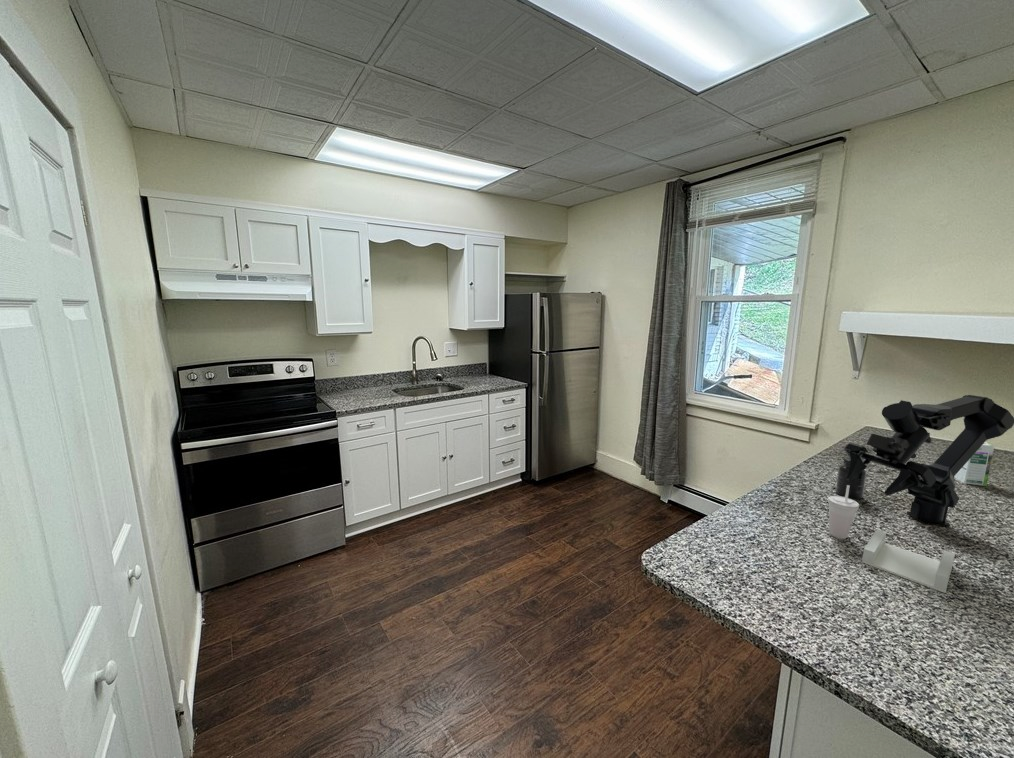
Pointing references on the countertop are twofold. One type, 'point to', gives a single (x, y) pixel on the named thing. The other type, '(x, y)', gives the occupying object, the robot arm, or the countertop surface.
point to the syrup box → (977, 466)
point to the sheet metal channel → (908, 563)
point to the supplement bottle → (855, 484)
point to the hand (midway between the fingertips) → (866, 486)
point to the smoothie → (841, 514)
